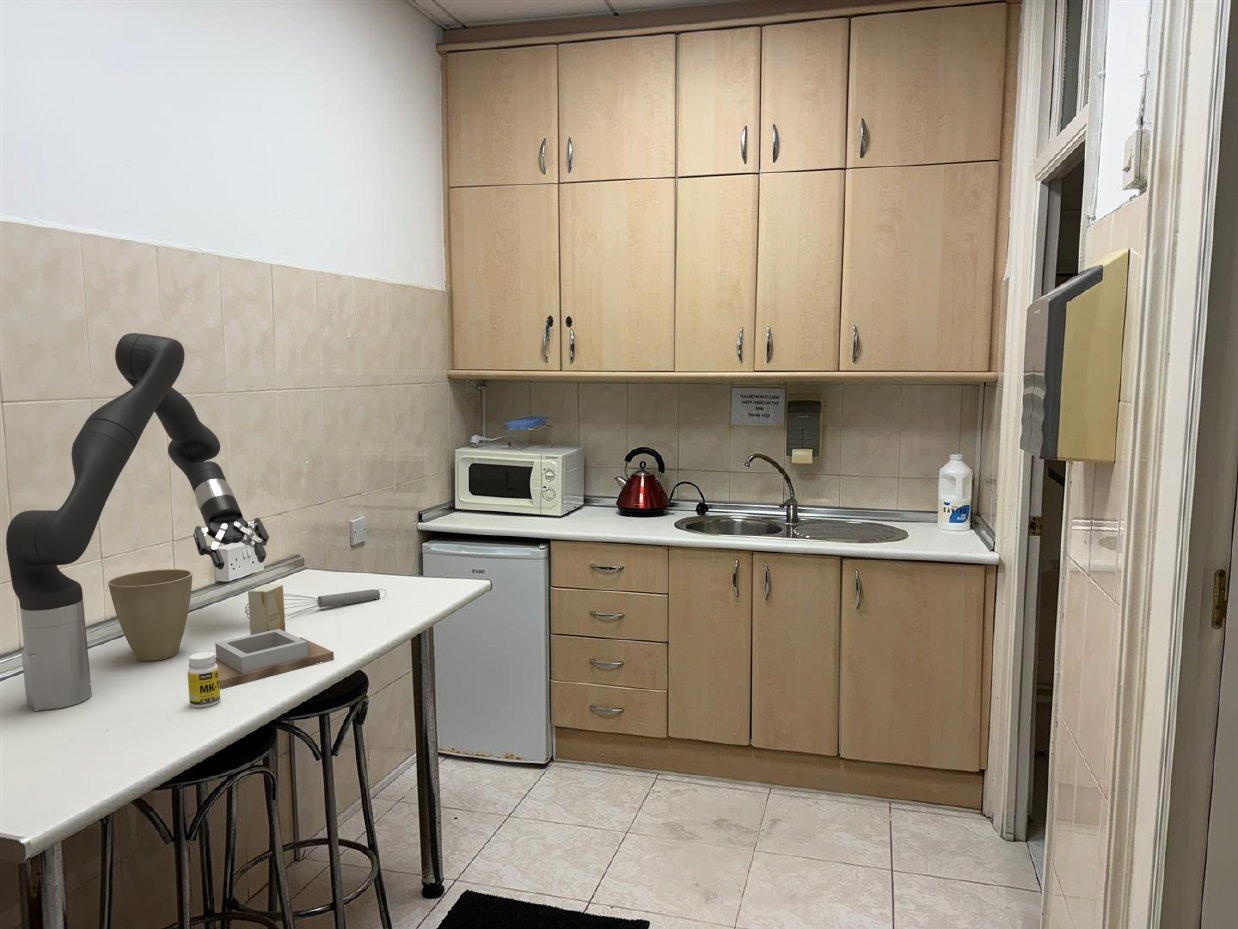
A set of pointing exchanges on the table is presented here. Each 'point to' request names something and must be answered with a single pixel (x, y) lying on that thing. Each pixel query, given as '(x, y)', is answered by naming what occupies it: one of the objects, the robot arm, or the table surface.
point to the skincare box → (266, 608)
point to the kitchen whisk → (336, 599)
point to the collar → (261, 650)
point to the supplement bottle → (203, 680)
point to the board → (234, 677)
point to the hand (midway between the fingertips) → (242, 563)
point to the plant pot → (152, 610)
